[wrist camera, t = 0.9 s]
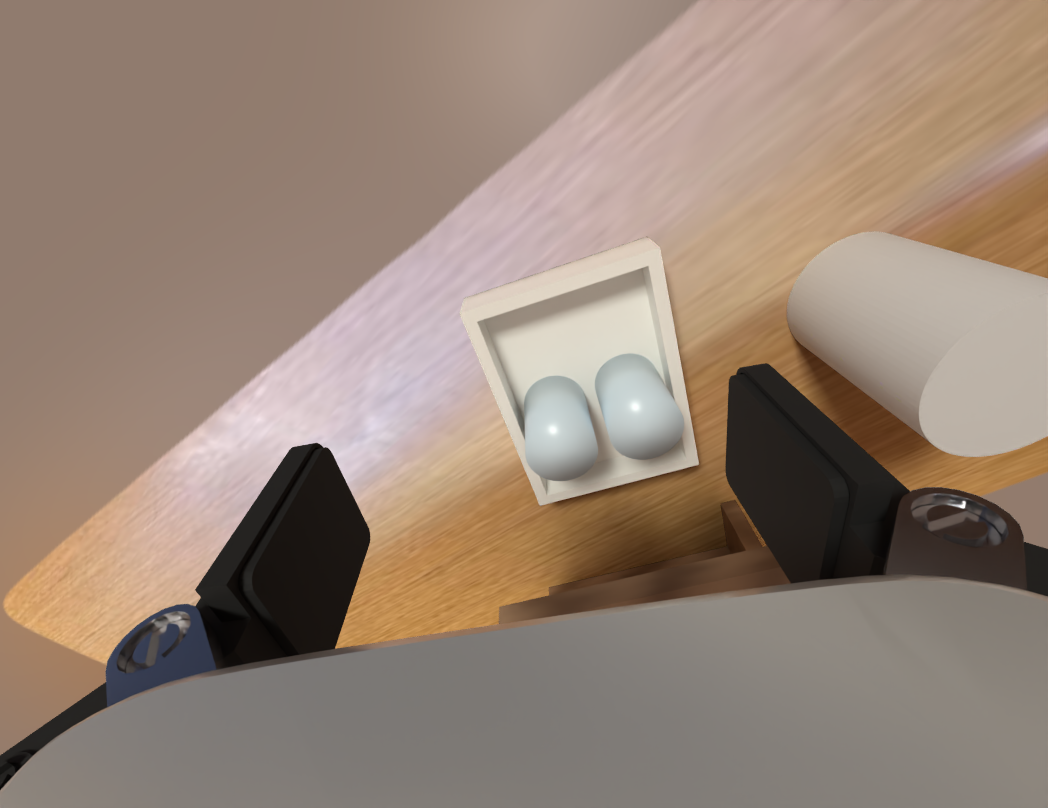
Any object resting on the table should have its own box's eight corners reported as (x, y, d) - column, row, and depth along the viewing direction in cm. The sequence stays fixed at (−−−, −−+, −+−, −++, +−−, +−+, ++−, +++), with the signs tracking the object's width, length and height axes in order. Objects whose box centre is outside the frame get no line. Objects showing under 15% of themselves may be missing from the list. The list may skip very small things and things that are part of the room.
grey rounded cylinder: (651, 345, 32) (677, 387, 26) (662, 399, 34) (689, 448, 28) (587, 364, 32) (601, 409, 27) (602, 416, 34) (618, 467, 29)
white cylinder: (832, 374, 34) (971, 483, 23) (761, 306, 31) (883, 395, 21) (941, 286, 31) (1158, 367, 20) (873, 202, 28) (1083, 246, 18)
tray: (647, 236, 29) (660, 247, 26) (686, 440, 36) (699, 464, 34) (464, 297, 31) (459, 313, 28) (538, 480, 38) (539, 505, 36)
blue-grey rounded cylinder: (576, 367, 32) (587, 413, 27) (592, 419, 34) (605, 470, 29) (515, 386, 33) (515, 434, 28) (535, 435, 35) (538, 488, 30)
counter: (725, 430, 36) (814, 559, 25) (742, 552, 43) (818, 694, 32) (503, 489, 39) (498, 628, 28) (552, 595, 45) (563, 740, 35)
